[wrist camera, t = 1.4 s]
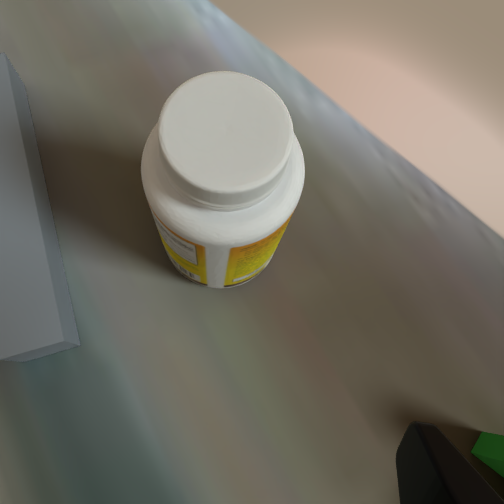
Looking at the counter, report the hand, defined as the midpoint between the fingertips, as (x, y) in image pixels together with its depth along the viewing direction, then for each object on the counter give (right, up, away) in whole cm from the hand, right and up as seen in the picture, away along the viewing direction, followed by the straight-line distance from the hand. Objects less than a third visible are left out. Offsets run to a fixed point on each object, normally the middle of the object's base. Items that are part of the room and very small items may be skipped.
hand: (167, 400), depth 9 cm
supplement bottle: (0, +3, +15) cm, 15 cm away
